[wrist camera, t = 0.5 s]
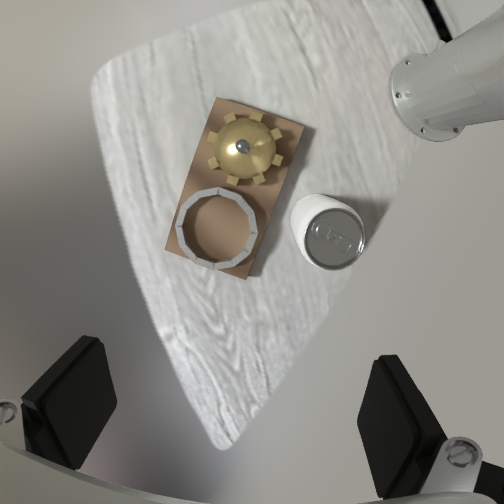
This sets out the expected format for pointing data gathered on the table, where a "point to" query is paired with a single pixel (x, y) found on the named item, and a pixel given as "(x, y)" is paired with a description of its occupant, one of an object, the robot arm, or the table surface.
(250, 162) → the gear
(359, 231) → the can
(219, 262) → the ring
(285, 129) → the gear board
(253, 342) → the table surface
